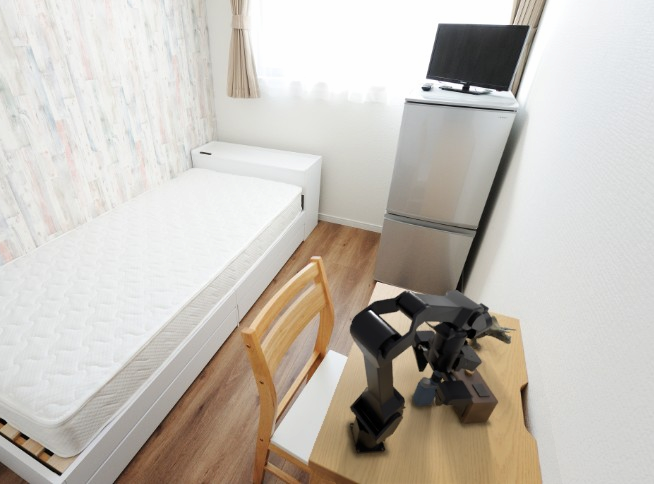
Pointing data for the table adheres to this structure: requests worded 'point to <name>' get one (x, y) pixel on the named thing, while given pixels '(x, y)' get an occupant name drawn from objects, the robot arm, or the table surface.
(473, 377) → the radio
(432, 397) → the vaping device
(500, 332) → the toy dinosaur
